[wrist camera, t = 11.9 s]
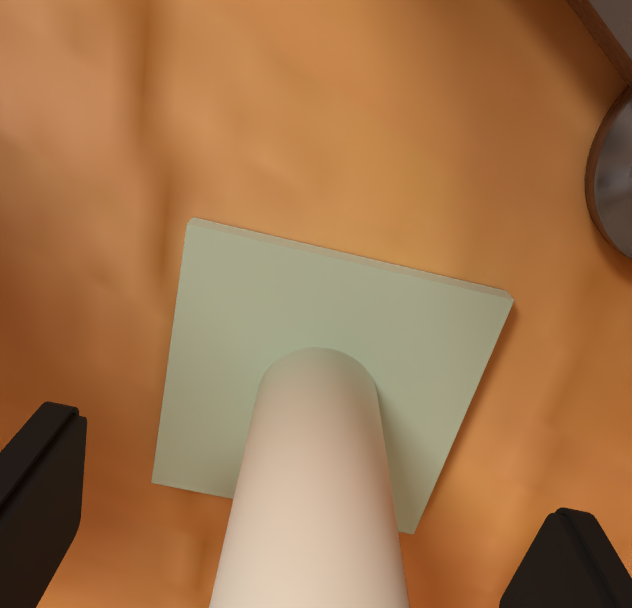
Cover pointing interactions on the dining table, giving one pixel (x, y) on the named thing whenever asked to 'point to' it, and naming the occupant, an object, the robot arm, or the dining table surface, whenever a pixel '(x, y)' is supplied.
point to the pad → (325, 332)
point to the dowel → (313, 494)
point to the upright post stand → (611, 126)
